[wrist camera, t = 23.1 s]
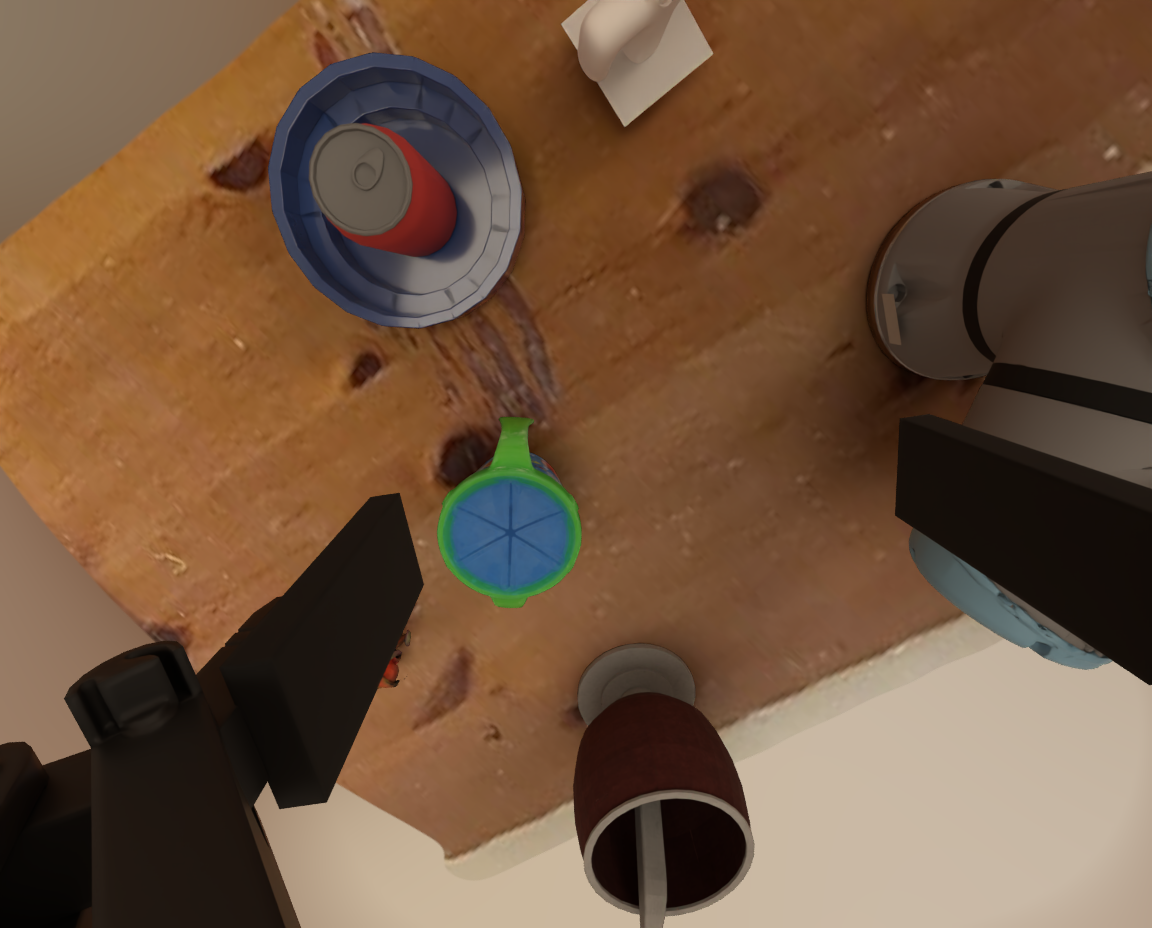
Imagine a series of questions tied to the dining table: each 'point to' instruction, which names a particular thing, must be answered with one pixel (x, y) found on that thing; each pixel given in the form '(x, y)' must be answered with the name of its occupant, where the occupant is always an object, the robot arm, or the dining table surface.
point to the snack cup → (510, 523)
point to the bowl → (449, 144)
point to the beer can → (381, 190)
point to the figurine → (636, 49)
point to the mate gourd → (655, 789)
